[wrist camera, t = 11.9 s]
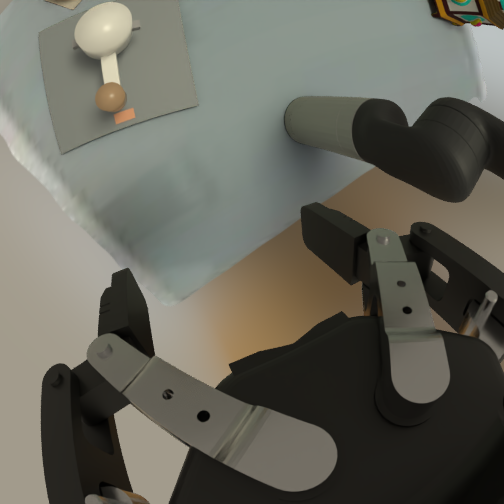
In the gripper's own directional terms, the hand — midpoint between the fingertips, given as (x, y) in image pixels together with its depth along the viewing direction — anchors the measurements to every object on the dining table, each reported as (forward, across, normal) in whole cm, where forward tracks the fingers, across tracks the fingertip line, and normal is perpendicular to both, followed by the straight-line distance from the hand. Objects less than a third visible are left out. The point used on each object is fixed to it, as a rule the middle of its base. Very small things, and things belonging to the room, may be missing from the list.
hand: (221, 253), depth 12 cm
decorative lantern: (+33, -86, -42) cm, 101 cm away
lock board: (+33, +4, -17) cm, 37 cm away
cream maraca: (+28, +4, -16) cm, 33 cm away
